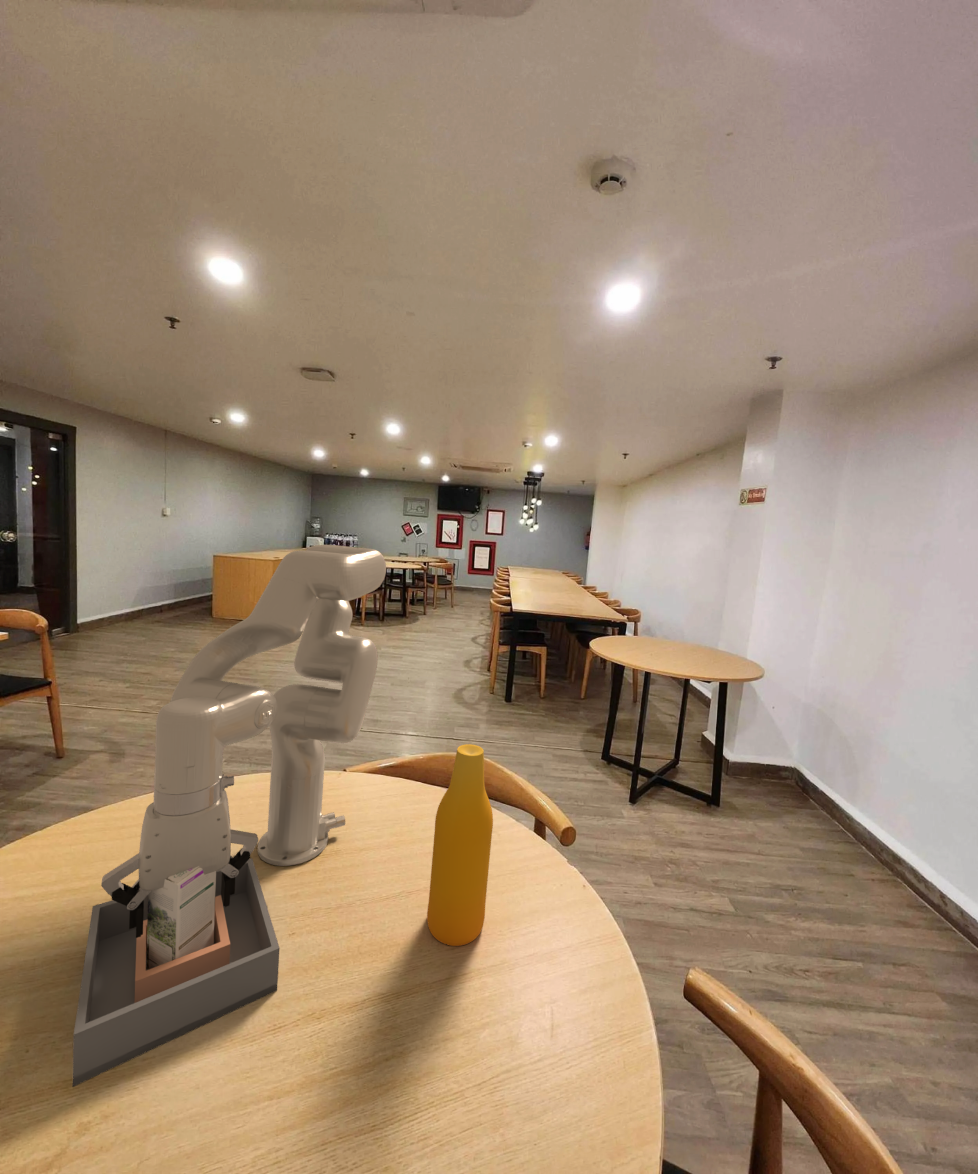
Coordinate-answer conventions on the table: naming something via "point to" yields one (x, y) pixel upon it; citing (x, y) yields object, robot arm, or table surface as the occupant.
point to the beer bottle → (461, 853)
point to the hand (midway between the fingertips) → (184, 914)
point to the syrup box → (180, 916)
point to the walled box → (169, 979)
